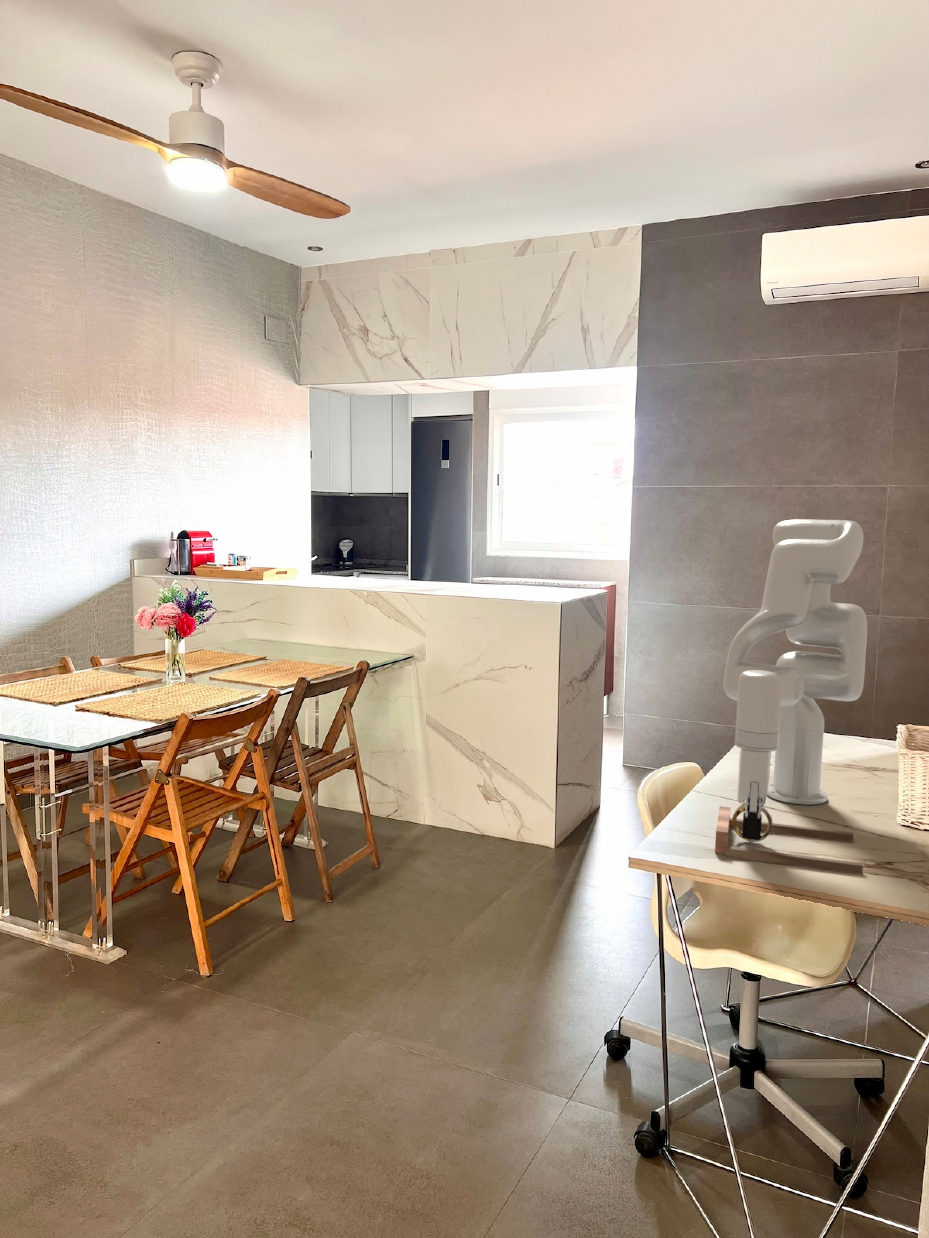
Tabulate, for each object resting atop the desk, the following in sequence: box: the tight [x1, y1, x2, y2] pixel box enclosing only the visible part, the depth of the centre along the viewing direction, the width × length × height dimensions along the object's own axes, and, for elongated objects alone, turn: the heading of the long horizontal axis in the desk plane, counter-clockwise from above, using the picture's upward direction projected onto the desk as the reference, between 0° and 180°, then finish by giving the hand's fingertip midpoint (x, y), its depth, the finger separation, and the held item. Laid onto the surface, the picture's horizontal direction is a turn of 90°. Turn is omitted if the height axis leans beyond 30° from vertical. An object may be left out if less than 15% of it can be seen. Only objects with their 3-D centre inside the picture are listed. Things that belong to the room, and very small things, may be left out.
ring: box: [731, 802, 773, 844], centre depth 163 cm, size 7×3×8 cm, turn 65°
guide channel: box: [714, 805, 864, 875], centre depth 161 cm, size 17×24×4 cm
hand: (751, 835), depth 163 cm, fingers closed on ring, 1 cm apart
